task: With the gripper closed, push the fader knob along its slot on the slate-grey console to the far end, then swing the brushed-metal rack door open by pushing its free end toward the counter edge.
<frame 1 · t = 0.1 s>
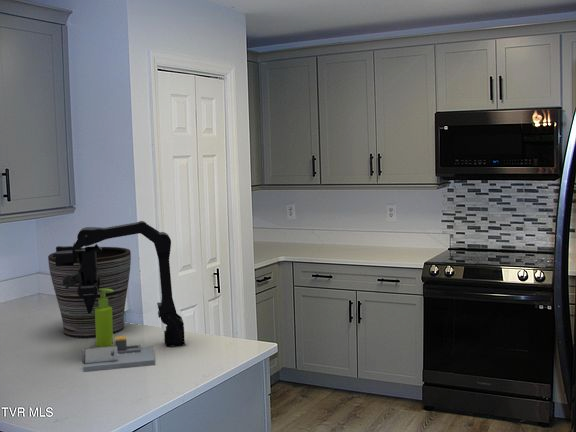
hand: (90, 309, 229), 15 cm above the counter, fingers open, 9 cm apart
soap dispenser: (106, 344, 238), on the counter, touching gripper
planter pot: (94, 330, 257), on the counter
rack door: (101, 354, 213), point 4 cm above the counter, hinge at 0.0°
fader knob: (121, 344, 224), point 4 cm above the counter, slide at -3.0 cm
console: (119, 360, 220), on the counter
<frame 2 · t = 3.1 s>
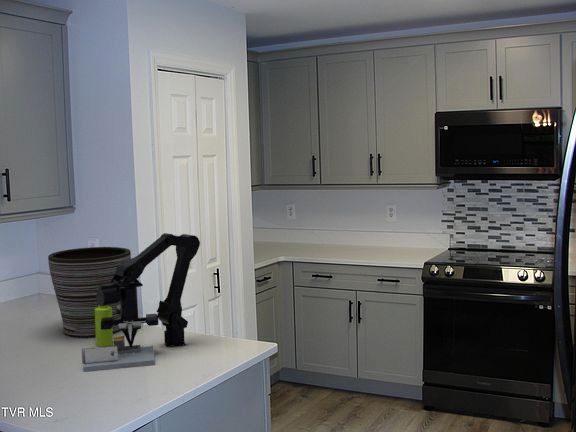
hand: (130, 346, 225), 3 cm above the counter, fingers closed
soap dispenser: (106, 344, 238), on the counter
fader knob: (119, 344, 224), point 4 cm above the counter, slide at -2.4 cm, touching gripper
everything else where it was.
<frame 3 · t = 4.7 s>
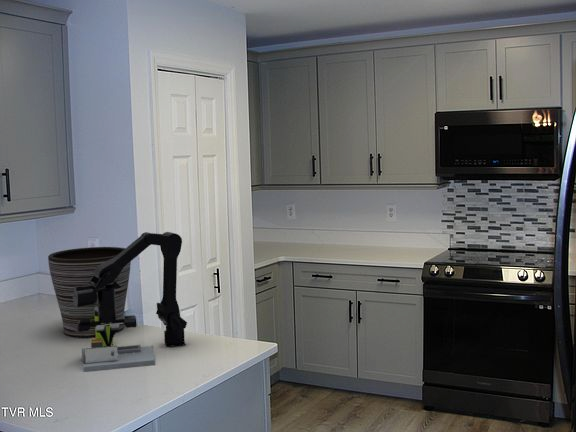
hand: (108, 348, 224), 3 cm above the counter, fingers closed
fader knob: (97, 346, 223), point 4 cm above the counter, slide at 4.7 cm, touching gripper
everything else where it was.
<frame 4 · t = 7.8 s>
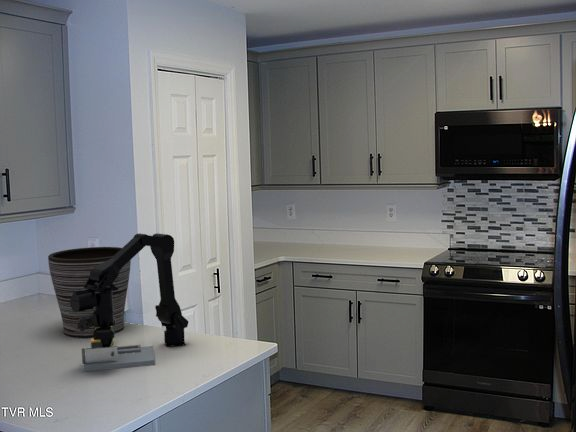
hand: (106, 353, 216), 4 cm above the counter, fingers closed
rack door: (101, 355, 213), point 4 cm above the counter, hinge at 2.3°, touching gripper
fader knob: (97, 346, 223), point 4 cm above the counter, slide at 4.7 cm
everything else where it was.
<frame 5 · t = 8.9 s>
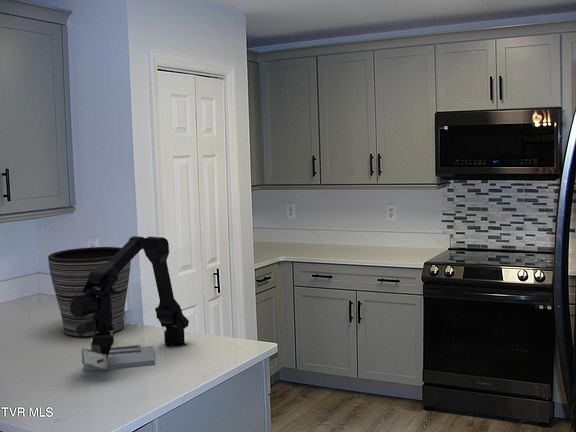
hand: (105, 358, 210), 4 cm above the counter, fingers closed
rack door: (93, 359, 209), point 4 cm above the counter, hinge at 48.8°, touching gripper
everything else where it was.
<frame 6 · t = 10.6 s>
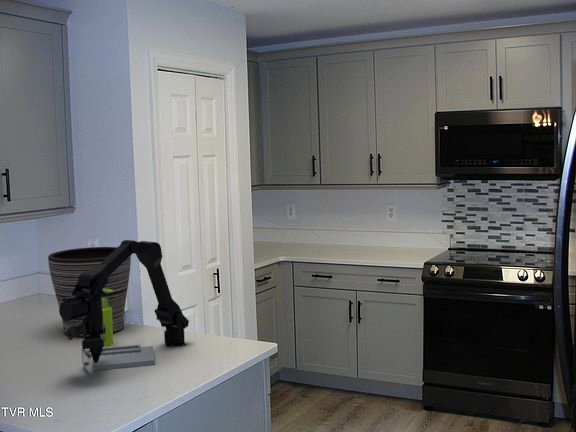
hand: (95, 362, 207), 4 cm above the counter, fingers closed
rack door: (85, 361, 207), point 4 cm above the counter, hinge at 75.3°, touching gripper
everything else where it was.
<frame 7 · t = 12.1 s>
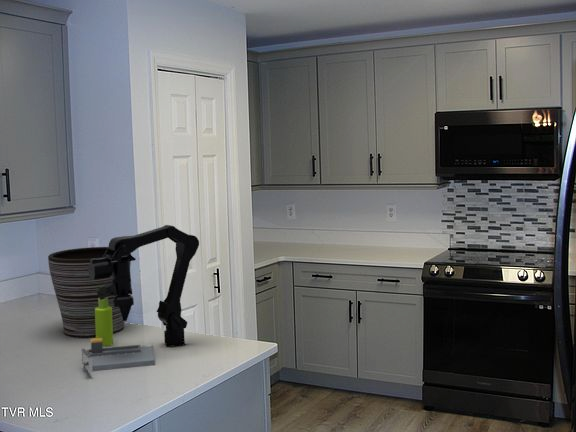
hand: (125, 320, 225), 12 cm above the counter, fingers closed
rack door: (85, 361, 207), point 4 cm above the counter, hinge at 75.4°
everything else where it was.
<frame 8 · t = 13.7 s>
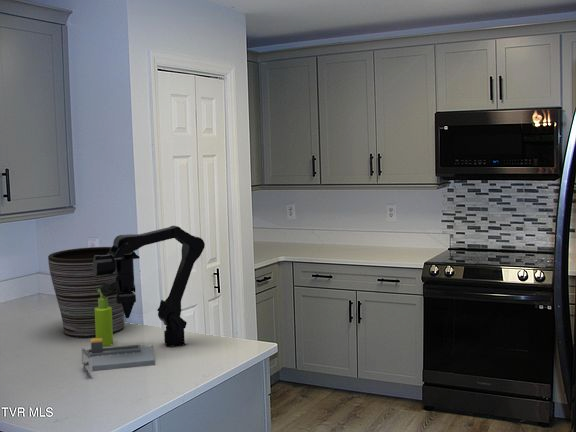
hand: (127, 317, 227), 12 cm above the counter, fingers closed
nothing on the counter moved.
at the end: fader knob slide at 4.7 cm; rack door at +75° (first picture: +0°) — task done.
